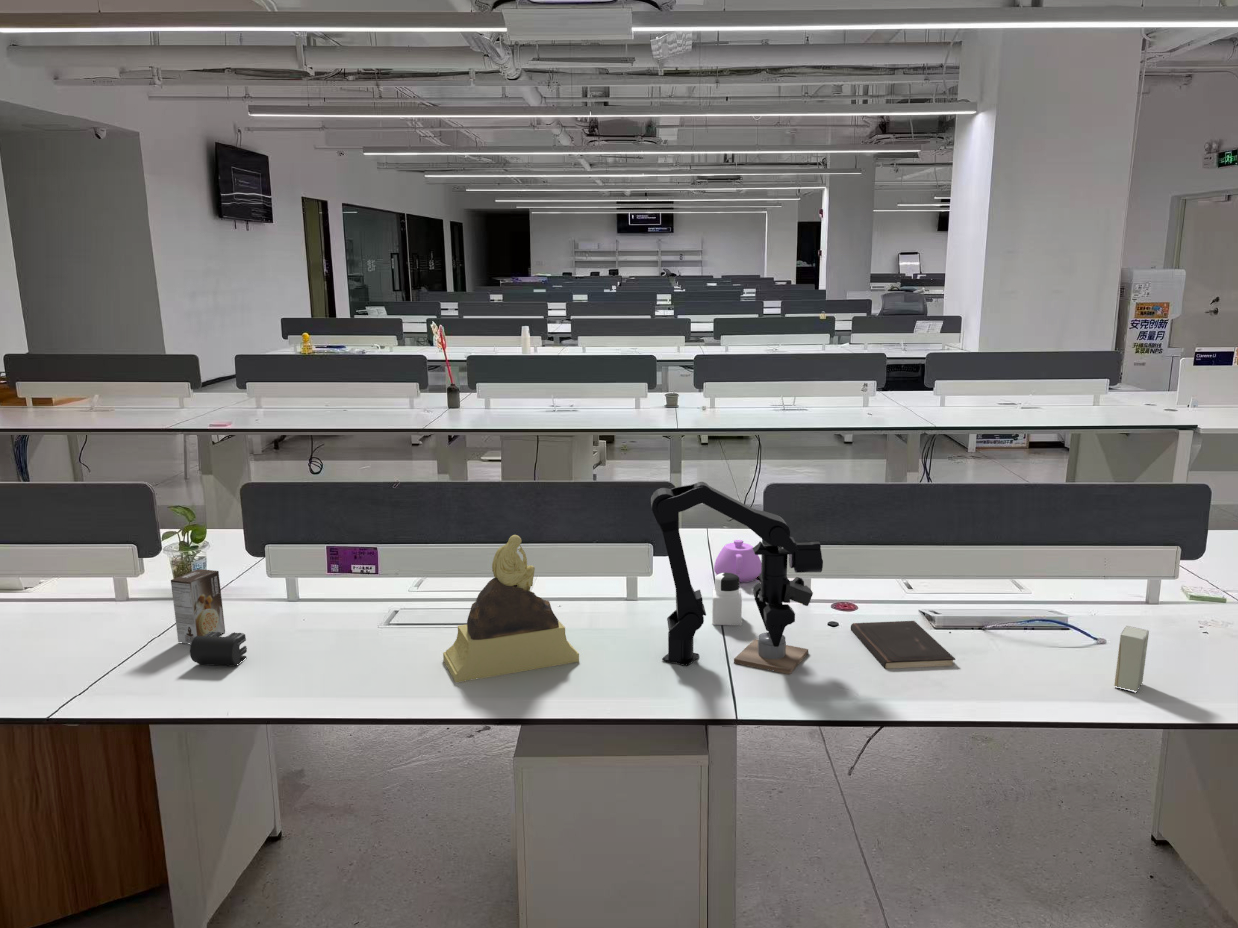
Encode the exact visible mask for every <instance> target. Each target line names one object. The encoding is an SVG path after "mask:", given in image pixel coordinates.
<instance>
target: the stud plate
mask: <svg viewBox="0 0 1238 928" xmlns="http://www.w3.org/2000/svg"><path fill="white" fill-rule="evenodd" d="M808 654H809V648H804V647H799V646H794V645H788V644H786V655H785V656H784V657H783V658H780V659H766V658H763V657H761V656H759V655H758V639H757V638H754V639H753V640H752V641H751V642H750V643H749V644H748V645H747V646H746V647H745V648H743V650H742V651H741V652H739V653H738V654H737V655H736V656H735V657H734V658H733V664H737V665H743V666H746V667H752V668H756V667H758V668H757V669H761V668H763V669H762V670H766V669H769V670H768V671H771V670H774V671H773V672H776V671H777V672H776V673H780V672H781V673H782V674H784V675H785V674H786V675H790V674H792V673H793V671H794V670H795V669H796V668H797V667H798V666H799V664H800V663H801V662H802V661H803V660H804V659H805V658H806V656H808Z"/></svg>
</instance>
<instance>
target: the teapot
mask: <svg viewBox="0 0 1238 928" xmlns="http://www.w3.org/2000/svg"><path fill="white" fill-rule="evenodd" d="M753 547H754V546H753V545H751V544H749V543H745V542H744V540H743V539H734V540H733V542H730V543H726V544H725V545H724V546H722V548H721V550H720V551H719V552H718V555H717V556H716V558H715V562H714V565H713V566H714V567H713V569H714V570H713V571H714V573H715V574H716V575H718V574H720V573H733V574H736V575H738V577H739V583H748V581H749V582H753V581H755V580H756V579H755V578H757V576H759V573H761V558H760V555H755V553H754V551H753ZM754 579H755V580H754ZM757 579H758V578H757ZM752 580H753V581H752Z"/></svg>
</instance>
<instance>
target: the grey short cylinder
mask: <svg viewBox="0 0 1238 928" xmlns="http://www.w3.org/2000/svg"><path fill="white" fill-rule="evenodd" d="M786 643H787V642H786V636H785V635H784V634H783V635H782V638H781V641H780V644H779V646H778V647H774V646H773V643H772V640H771V637H770V635H769V632H768V631H766V632H763V633H760V634H759V635H758V655H759V656H761V657H763V658H766V659H780V658H783V657H784V656H785V655H786V645H787V644H786Z"/></svg>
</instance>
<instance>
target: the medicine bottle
mask: <svg viewBox="0 0 1238 928" xmlns="http://www.w3.org/2000/svg"><path fill="white" fill-rule="evenodd" d="M714 579H715V580H714V588H713V589H712V611H711V613H712V615H711V616H712V625H713V626H737V627H738V626H740V627H741V626H742V609H743V608H742V606H743V604H742V603H743V600H742V598H743V596H742V590H741V589H740V582H739V577H738V575H736V574H733V573H720V574H718V575H717V574H716V575H715V577H714Z"/></svg>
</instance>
